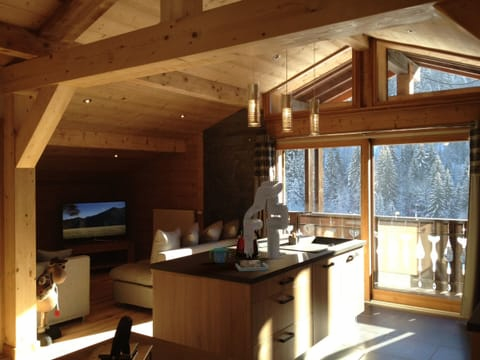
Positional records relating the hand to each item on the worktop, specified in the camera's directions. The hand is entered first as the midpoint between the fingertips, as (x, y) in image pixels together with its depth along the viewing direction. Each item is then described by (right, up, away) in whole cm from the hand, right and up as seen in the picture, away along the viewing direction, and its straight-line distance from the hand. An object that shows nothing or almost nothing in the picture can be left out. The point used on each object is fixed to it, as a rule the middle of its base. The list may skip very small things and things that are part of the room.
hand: (249, 263), depth 329 cm
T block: (+1, -1, -9) cm, 9 cm away
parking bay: (+2, -1, -10) cm, 10 cm away
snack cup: (-21, -2, +12) cm, 24 cm away
